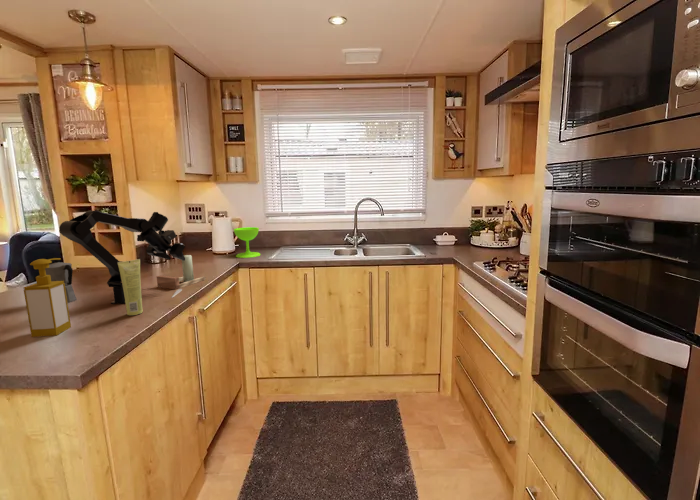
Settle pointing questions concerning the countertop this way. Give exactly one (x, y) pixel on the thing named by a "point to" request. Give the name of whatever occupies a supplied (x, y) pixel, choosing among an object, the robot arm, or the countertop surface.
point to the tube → (131, 286)
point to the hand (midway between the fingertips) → (177, 259)
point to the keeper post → (187, 268)
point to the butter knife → (176, 292)
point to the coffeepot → (62, 277)
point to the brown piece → (175, 282)
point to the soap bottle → (46, 303)
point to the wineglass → (247, 240)
